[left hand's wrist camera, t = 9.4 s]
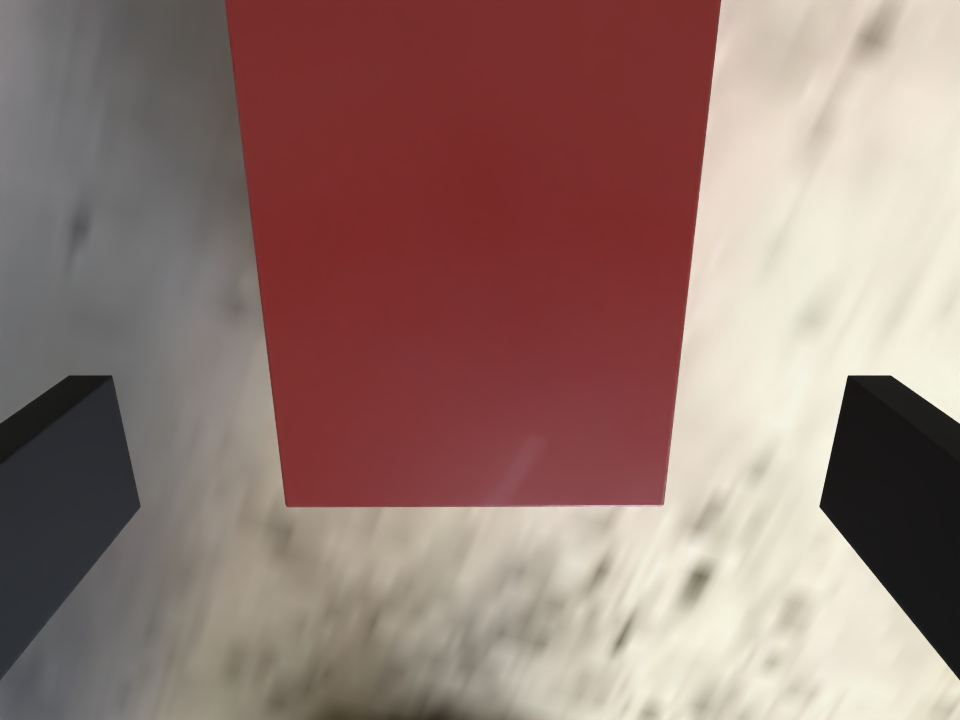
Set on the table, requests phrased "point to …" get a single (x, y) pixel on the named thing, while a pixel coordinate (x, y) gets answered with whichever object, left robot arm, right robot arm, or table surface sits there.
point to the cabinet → (473, 241)
